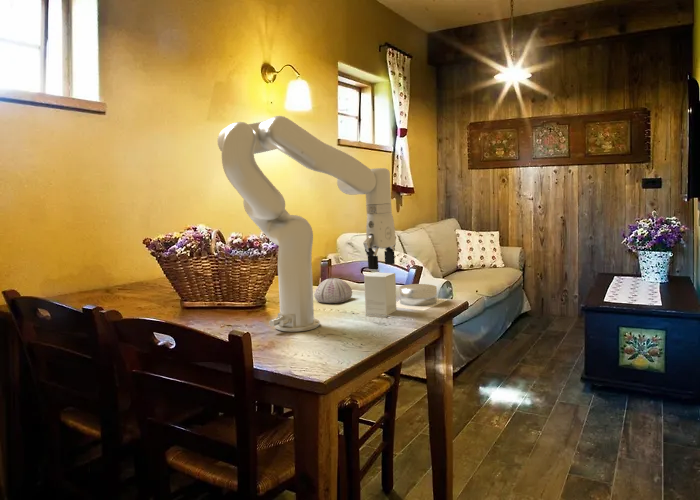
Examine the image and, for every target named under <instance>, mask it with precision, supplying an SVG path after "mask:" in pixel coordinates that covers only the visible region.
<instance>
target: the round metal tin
mask: <svg viewBox="0 0 700 500" xmlns="http://www.w3.org/2000/svg"><path fill="white" fill-rule="evenodd" d="M437 288H438V287H437V286H436V285H433V284H428V283H427V284H426V283H424V284H423V283H412V284H411V283H410V284H404V285H401V286H399V300H400V304H403V305H407V306H429V305H434V304H436V303H437V299H438V296H437V294H438V293H437V291H438V289H437Z"/></svg>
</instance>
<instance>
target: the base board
mask: <svg viewBox="0 0 700 500" xmlns="http://www.w3.org/2000/svg"><path fill="white" fill-rule="evenodd" d="M446 301H448V298H447V299H444V298H437V303H436V304H434V305H429V306H407V305H403V304H400V299H399V300H398V301H397V300H396V309H403V310H405V309H406V310H412V311H413V310H415V311H426V310H428V309H431V308H433V307H436V306H438V305H439V304H440V305H441V304H443V303H444V302H446Z"/></svg>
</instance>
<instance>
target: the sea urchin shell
mask: <svg viewBox="0 0 700 500" xmlns="http://www.w3.org/2000/svg"><path fill="white" fill-rule="evenodd" d="M352 296H353V289H352V288H351V286H350V285H349V283H347V282H346V281H344V280H343V279H341V278H338V277H337V278H336V277H330V278H327V279H324V280H322V281H321V282H320V283H319V284H318V286H317V288H316V289H315V291H314V293H313V297H314V299H315V300H316V301H317V302H318V303H322V304H337V303H339V304H340V303H344V302H347V301H350V300H351V298H352Z"/></svg>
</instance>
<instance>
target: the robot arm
mask: <svg viewBox="0 0 700 500" xmlns="http://www.w3.org/2000/svg"><path fill="white" fill-rule="evenodd" d="M217 147H218V149H219V150H220V152H221V164H222V168H223V171H224V174H225V176H226V178H227V180H228V182H229V183H230V184H231V185H232V187H233V188H234V189H235V190H236V191H237V193H238V194H239V195H240V197H241V198H242V199H243V201H242V202H243V207H244V210H245V213H246V215H247V216H248V217H249V218H250V219H251V221H252V222H253V223H254V224H255V225H256V226H257V227H258V229H260V231H261V232H262V233H263V234H264V235H265V237H267V238H268V239H269V241H270V242H271V243H273V244H274V245H275V246H278V252H277V276H278V277H277V279H278V281H277V282H278V297H279V298H278V299H279V302H278V303H279V312H278V313H277V317H276V318H272V319H270V320H269V321H268V325H269V327H272V328H273V327H274V328H275V329H276V330H277V331H281V332H287V333H292V332H293V333H294V332H297V333H298V332H305V331H310V330H311V331H312V330H314V329H316V328H318V327H320V320H318V319H317V318H315V314H314V313H315V312H314V311H315V310H314V290H313V289H314V287H313V286H314V285H313V266H312V263H313V262H312V258H313V256H312V254H313V253H312V252H313V244H314V243H313V241H314V233H313V232H314V231H313V227H312V225H311V224H310V223H309V221H308V220H307V219H306V218H304V217H302V216H300V215H297V214H296V215H295V214H290V213H289V212H288V211H287V209H286V201H285V200H286V199H285V198H284V196H283V194H282V193H281V192H280V191H279V189H278V188H277V187H276V186H275V185H274V184H273V182H272V181H271V180H270V179H269V178H268V176H267V175H265V174H264V172H263V171H262V170H261V168H260V167H259V165H258V164H257V162H256V159H255V154H261V153H266V152H271V151H274V150H278V151H280V152H282V153H283V154H285V156H286V155H287V156H288V157H289V158H291V159H293V160H294V161H296V163H298V164H300V165H301V166H303V167H304V168H306V169H308V170H311V171H313V172H317V173H322V174H326V175H328V176H331V177H332V178H336V180H337V181H336V184H337V187H338V189H339V191H341V192H342V193H343V194H346V195H351V196H354V195H355V196H356V195H365V208H366V227H365V228H366V229H365V231H366V236H365V237H366V239H365V240H363V247H364V252H365V254H366V257H367V269H368V270H379V256H378V255H377V254H378V251H379V249H380V250H383V249H384V253H383V254H384V263H385V265H395V263H396V262H395V259H396V258H395V251H396V248H395V247H396V244H397V242H396V241H397V236H396V230H395V229H396V228H395V221H394V217H393V213H392V212H393V211H392V194H391V193H392V190H391V173H390V171H389V169H388V168H385V167H377V168H376V167H375V168H369V166H367V165H365V164H364V163H363V162H361V161H360V160H358V159H356V158H355V157H353V156H352V155H350V154H348V153H346V152H345V151H342V150H341V149H340V150H339V149H338V148H336V147H334V146H332V145H329V144H327V143H325V142H323V141H322V140H321V139H320V138H317V137H316V136H314V135H313V134H311V133H310V132H309V131H307V130H306V129H305V128H303V127H302V126H300V125H299V124H297V123H295V121H293V120H291V119H289V118H288V117H285V116H282V115H275V116H272V117H270V118H268V119H267V120H262V121H259V122H258V121H257V122H253V123H246V122H244V121H237V122H233V123H231V124H229V125H227V126H226V127H224V128H223V129H222V130H221V131H220V132H219V134H218V136H217Z"/></svg>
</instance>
